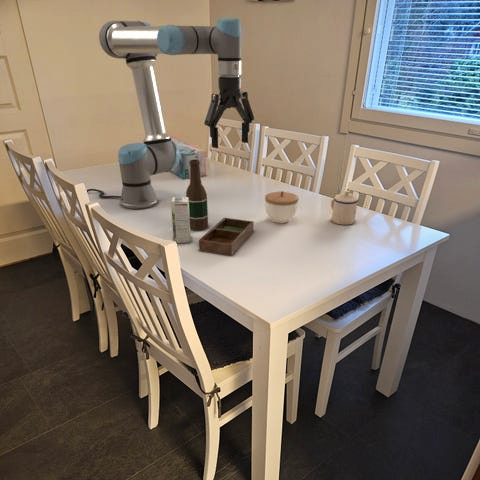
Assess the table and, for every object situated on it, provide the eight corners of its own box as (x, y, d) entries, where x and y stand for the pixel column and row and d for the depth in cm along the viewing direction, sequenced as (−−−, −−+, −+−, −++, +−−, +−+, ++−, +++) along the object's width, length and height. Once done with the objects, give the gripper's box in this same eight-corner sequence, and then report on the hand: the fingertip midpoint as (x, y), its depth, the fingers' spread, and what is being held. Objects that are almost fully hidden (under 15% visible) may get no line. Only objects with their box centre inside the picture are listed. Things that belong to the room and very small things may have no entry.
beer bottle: (205, 231, 153) (202, 163, 140) (185, 230, 154) (180, 162, 141) (210, 224, 159) (208, 158, 146) (191, 222, 161) (187, 157, 147)
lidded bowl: (275, 228, 156) (276, 198, 150) (258, 217, 165) (259, 189, 159) (303, 222, 161) (305, 193, 155) (285, 212, 170) (287, 185, 164)
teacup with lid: (360, 222, 161) (365, 192, 154) (342, 227, 157) (346, 196, 150) (338, 213, 169) (342, 184, 163) (321, 217, 166) (324, 187, 159)
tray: (199, 250, 139) (198, 240, 137) (224, 227, 157) (223, 217, 155) (231, 255, 136) (231, 245, 134) (253, 231, 153) (253, 221, 151)
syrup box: (174, 237, 149) (170, 196, 141) (191, 236, 149) (188, 196, 141) (173, 243, 144) (170, 202, 136) (191, 243, 144) (188, 201, 136)
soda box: (154, 162, 239) (151, 138, 232) (177, 159, 245) (175, 135, 238) (183, 179, 210) (181, 152, 202) (208, 175, 215) (206, 149, 208)
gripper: (205, 78, 128) (208, 151, 140) (265, 75, 141) (263, 142, 153) (191, 77, 133) (195, 147, 145) (250, 73, 146) (249, 138, 158)
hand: (230, 145), depth 149 cm, fingers open, 13 cm apart
